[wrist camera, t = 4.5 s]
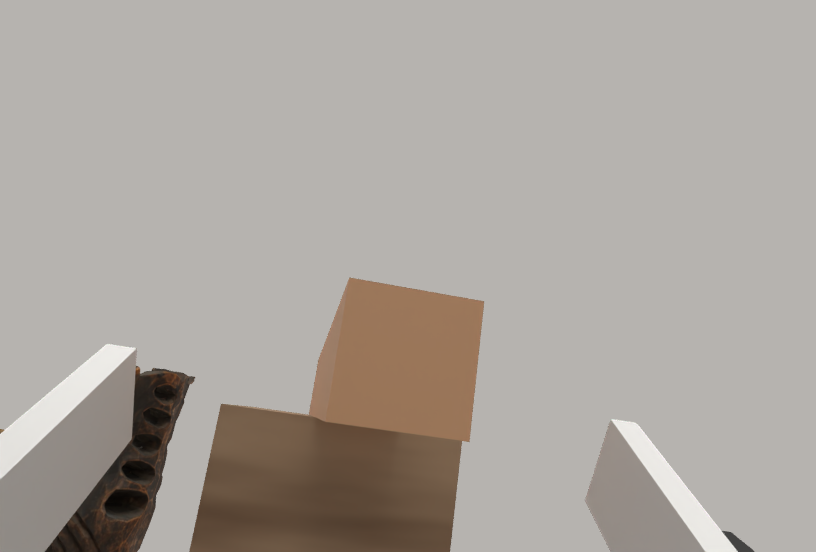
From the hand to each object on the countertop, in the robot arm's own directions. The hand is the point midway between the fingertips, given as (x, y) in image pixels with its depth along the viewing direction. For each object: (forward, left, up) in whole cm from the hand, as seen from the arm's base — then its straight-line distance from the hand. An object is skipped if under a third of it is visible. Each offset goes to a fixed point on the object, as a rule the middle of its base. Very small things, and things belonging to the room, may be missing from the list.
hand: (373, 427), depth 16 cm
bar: (-3, +10, 0) cm, 11 cm away
